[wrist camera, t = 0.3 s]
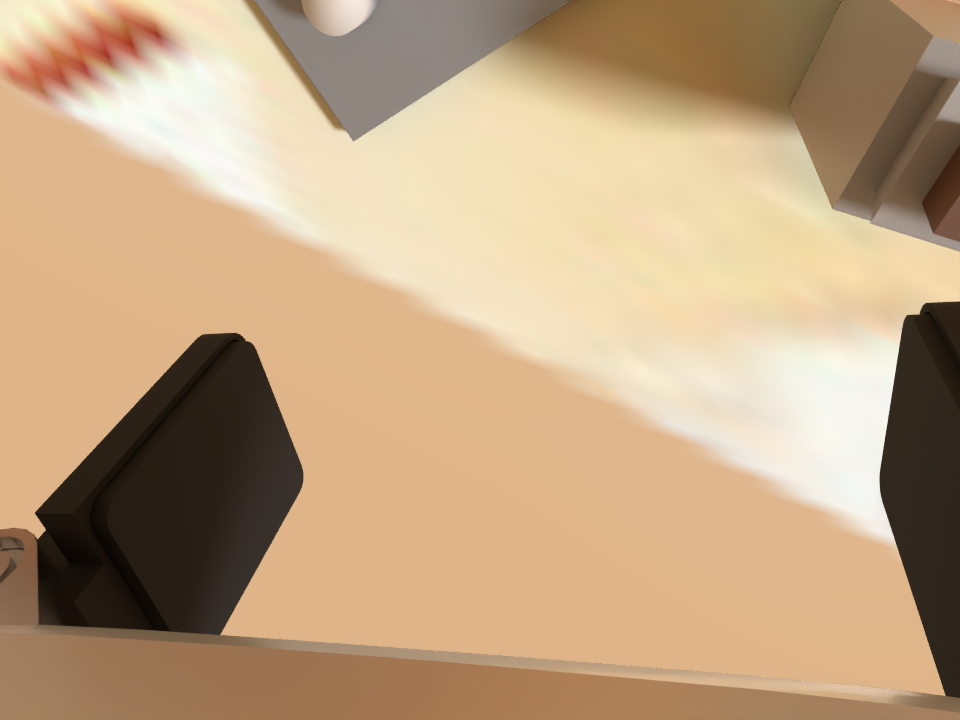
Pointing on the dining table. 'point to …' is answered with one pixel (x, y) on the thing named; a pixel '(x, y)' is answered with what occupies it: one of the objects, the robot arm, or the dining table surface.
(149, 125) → the dining table surface
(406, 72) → the post base
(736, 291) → the dining table surface
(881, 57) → the perfume bottle
